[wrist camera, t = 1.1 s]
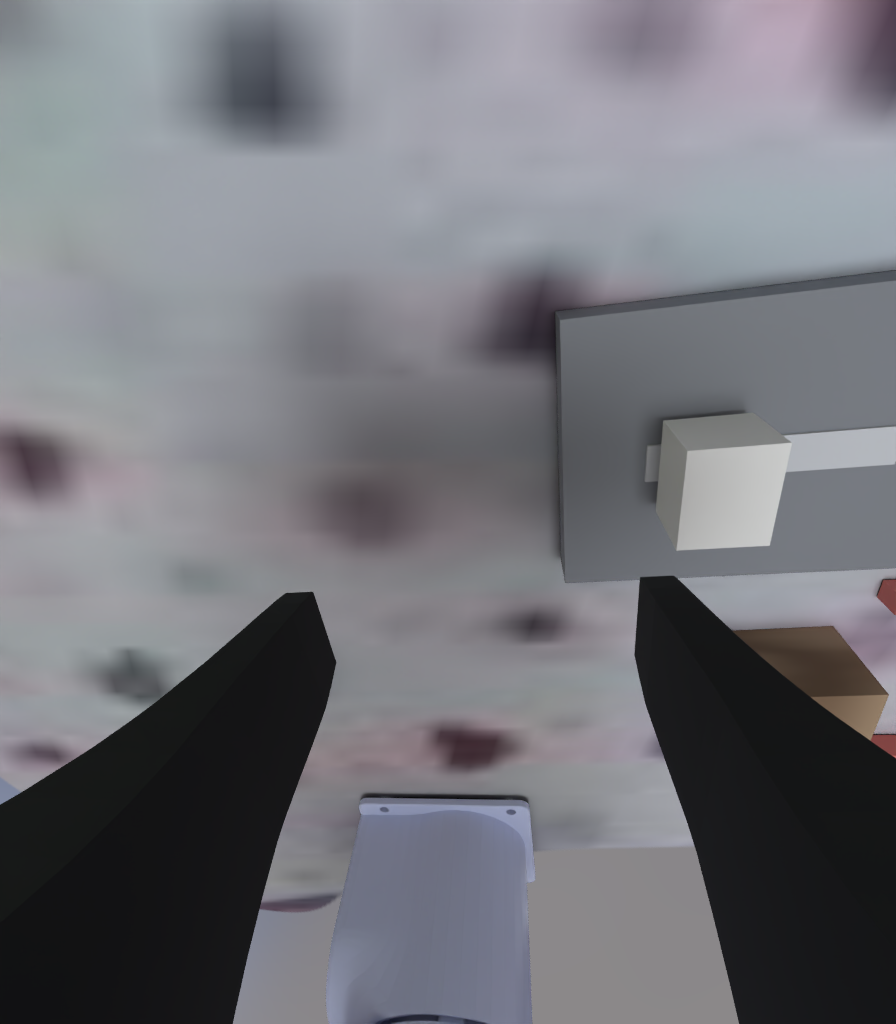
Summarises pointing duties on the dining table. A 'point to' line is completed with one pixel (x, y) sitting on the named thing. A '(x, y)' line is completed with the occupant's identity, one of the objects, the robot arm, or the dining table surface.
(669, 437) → the switch
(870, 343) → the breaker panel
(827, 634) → the block
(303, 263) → the dining table surface
